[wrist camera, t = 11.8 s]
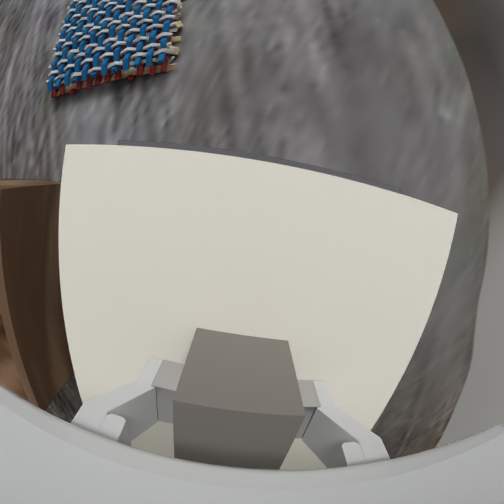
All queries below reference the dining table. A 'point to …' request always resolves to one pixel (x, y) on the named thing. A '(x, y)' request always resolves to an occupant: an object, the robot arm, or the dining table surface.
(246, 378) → the lid
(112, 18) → the woven mat
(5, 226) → the walnut box
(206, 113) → the dining table surface
